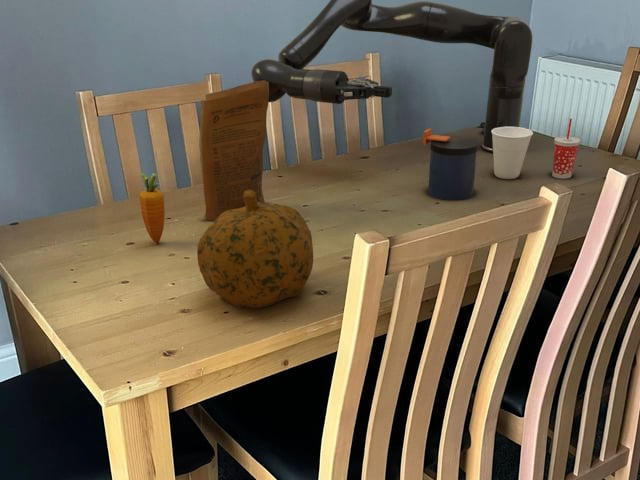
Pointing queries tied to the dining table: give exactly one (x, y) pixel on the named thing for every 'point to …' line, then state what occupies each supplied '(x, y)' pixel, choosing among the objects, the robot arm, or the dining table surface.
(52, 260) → the dining table surface
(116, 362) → the dining table surface
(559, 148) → the beverage cup
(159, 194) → the carrot
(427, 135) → the slider
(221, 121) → the pancake mix bag
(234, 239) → the decorative pumpkin
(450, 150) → the blue lidded canister
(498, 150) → the cup
